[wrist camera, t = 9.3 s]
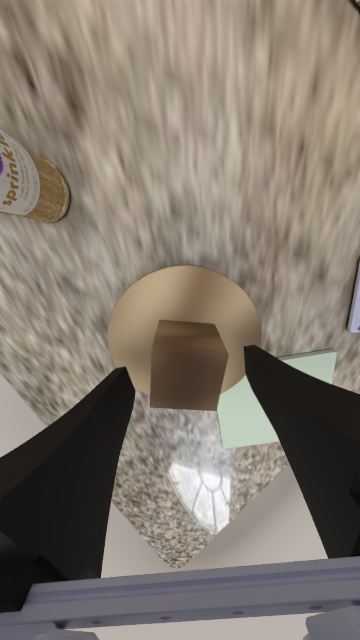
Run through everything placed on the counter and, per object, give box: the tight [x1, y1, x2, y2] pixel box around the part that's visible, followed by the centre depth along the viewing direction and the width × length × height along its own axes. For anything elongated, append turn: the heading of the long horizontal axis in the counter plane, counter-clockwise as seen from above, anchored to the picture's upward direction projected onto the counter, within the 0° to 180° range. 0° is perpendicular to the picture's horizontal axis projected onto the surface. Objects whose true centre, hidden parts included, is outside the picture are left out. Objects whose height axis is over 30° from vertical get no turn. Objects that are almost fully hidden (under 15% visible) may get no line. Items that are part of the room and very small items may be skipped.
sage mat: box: [217, 349, 337, 449], centre depth 23 cm, size 14×14×1 cm
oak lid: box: [107, 265, 261, 411], centre depth 12 cm, size 12×12×5 cm
